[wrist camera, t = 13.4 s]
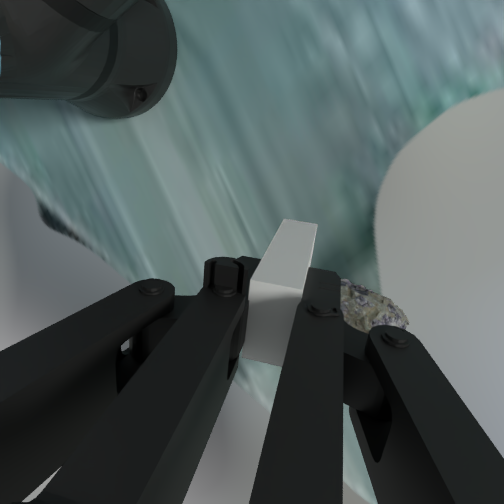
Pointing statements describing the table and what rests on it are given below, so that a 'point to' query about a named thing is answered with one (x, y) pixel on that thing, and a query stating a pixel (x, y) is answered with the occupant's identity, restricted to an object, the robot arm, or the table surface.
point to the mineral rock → (368, 308)
